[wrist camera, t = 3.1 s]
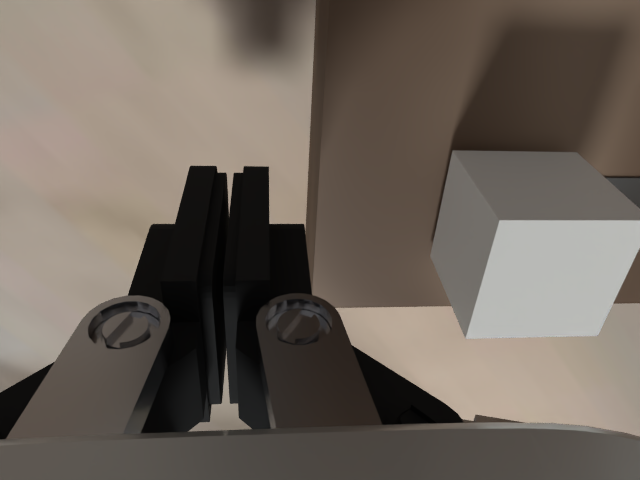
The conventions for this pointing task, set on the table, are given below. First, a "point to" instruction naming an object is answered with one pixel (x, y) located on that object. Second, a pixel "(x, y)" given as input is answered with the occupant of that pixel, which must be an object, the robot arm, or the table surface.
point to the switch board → (453, 123)
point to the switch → (532, 243)
